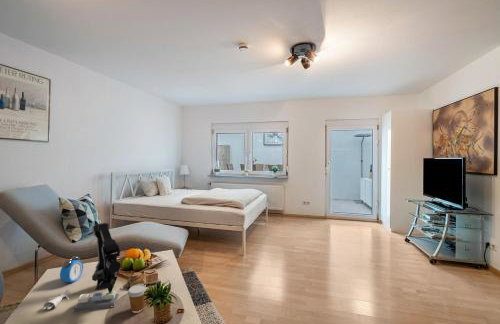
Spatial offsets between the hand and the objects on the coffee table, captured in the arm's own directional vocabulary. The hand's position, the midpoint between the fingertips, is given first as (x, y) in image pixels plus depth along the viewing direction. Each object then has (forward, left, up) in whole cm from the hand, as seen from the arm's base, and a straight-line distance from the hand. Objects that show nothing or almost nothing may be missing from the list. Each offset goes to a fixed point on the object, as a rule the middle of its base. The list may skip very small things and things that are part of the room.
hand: (110, 292), depth 139 cm
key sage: (0, 0, -3) cm, 3 cm away
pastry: (-16, +13, -6) cm, 21 cm away
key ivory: (0, -13, -3) cm, 13 cm away
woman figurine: (-6, -28, -6) cm, 30 cm away
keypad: (0, -6, -6) cm, 9 cm away
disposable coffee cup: (+11, +16, -6) cm, 20 cm away
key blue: (0, -6, -3) cm, 7 cm away
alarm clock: (-30, -30, -6) cm, 43 cm away
